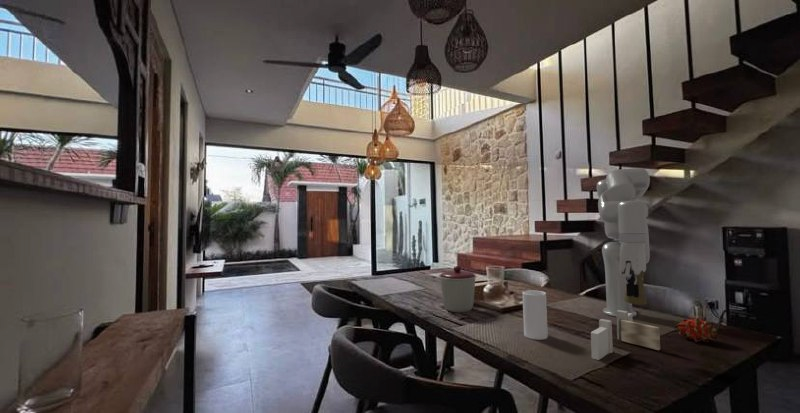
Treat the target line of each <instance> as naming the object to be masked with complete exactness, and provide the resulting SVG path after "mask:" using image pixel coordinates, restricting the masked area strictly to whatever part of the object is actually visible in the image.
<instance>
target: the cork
mask: <svg viewBox="0 0 800 413" xmlns="http://www.w3.org/2000/svg"><path fill="white" fill-rule="evenodd" d="M631 274H634V273H633V272H631ZM634 275H635V274H634ZM631 277H633V278H634V276H631ZM644 277H645V272H644V271H643V270H642V271H641V272H640V274H639V275H637V285H638V286H639V297H638V298H637V297H634V296H631V297H630V296H627V288H626V292H625V302H627V303H631V304H632V305H646V304H648V302H647V297H646V296H647V295H646V290H645V286H644ZM642 278H643V280H642Z"/></svg>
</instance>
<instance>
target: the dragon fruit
mask: <svg viewBox="0 0 800 413" xmlns="http://www.w3.org/2000/svg"><path fill="white" fill-rule="evenodd" d="M673 329H674V330H676V329H677V330H678V331H679V332H678V334H679V335H680V336H682V337H683V338H687V339H689V340H694V342H696V343H699V342H703V343H709V340H712V341H713V340H717V339H718V335H719V333H720V331H719V329H718V327H717V326H716V325H715V324H714V323H713V322H711V321H707V320H706V319H704V318H703V317H700V318H696V317H692V316H690V317H689V318H684V319H683V321H681V322H679V323H677V324H675V325H674V327H673Z"/></svg>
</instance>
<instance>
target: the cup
mask: <svg viewBox="0 0 800 413" xmlns="http://www.w3.org/2000/svg"><path fill="white" fill-rule="evenodd" d="M547 307H548V306H547V293H546V292H545V291H541V290H533V289H532V290H531V289H528V290H523V291H522V311H523V312H522V313H523V314H522V315H523V316H522V317H523V336H524V337H526V338H528V339H530V340H531V339H532V340H537V341H538V340H546V339H547V338H548V337H549V334H548V333H549V332H548V312H547V311H548V310H547V309H548V308H547Z"/></svg>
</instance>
